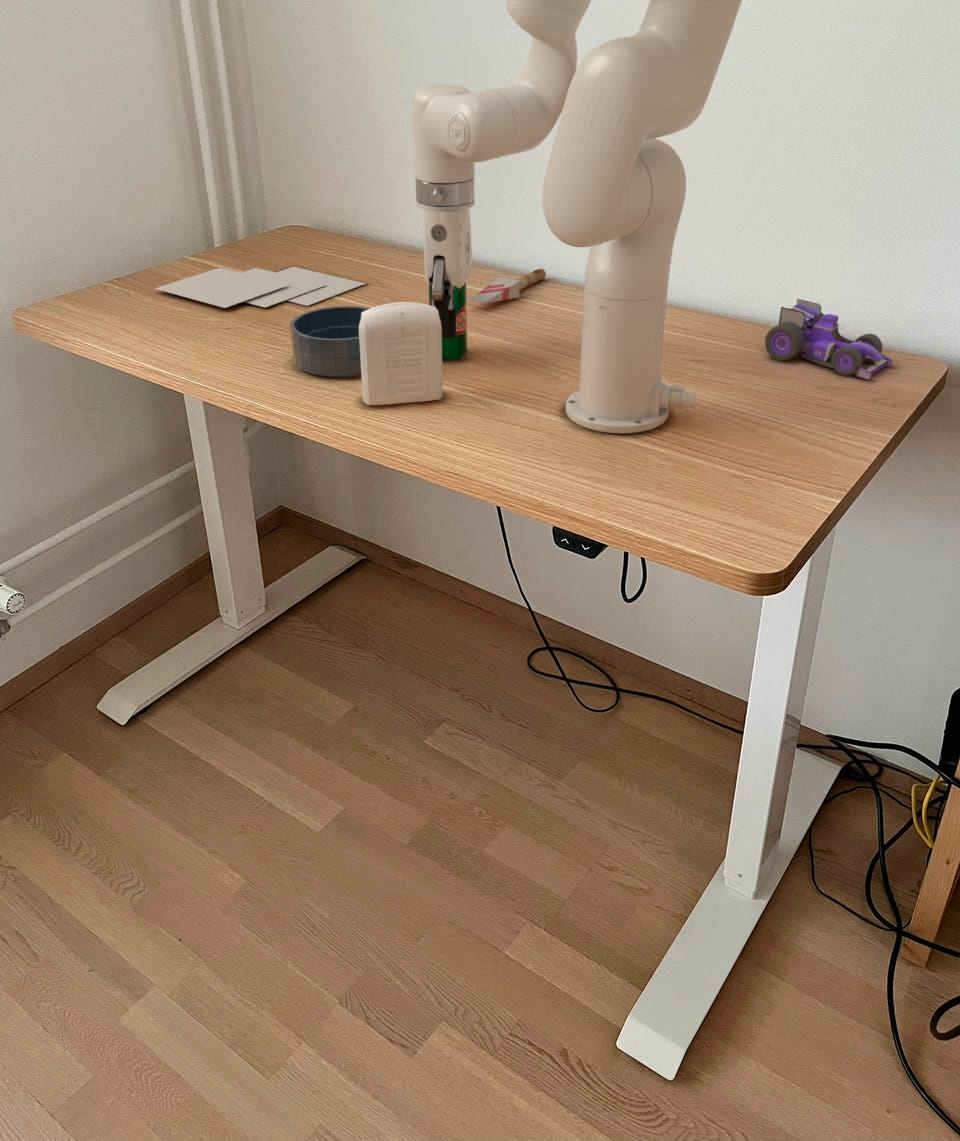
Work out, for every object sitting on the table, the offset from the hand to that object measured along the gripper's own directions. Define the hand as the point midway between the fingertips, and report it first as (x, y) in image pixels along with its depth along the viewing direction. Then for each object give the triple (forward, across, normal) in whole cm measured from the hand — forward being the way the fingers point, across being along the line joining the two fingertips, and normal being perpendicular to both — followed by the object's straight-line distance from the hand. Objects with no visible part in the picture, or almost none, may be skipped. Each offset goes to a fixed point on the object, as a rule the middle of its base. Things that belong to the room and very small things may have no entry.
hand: (448, 328), depth 140 cm
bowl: (+4, -4, +14) cm, 15 cm away
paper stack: (+4, +25, +36) cm, 44 cm away
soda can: (+4, 0, 0) cm, 4 cm away
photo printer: (+4, -16, +3) cm, 16 cm away
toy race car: (+4, +6, -52) cm, 53 cm away
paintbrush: (+4, +28, -5) cm, 29 cm away
